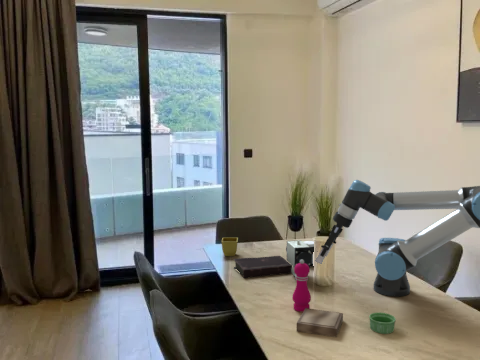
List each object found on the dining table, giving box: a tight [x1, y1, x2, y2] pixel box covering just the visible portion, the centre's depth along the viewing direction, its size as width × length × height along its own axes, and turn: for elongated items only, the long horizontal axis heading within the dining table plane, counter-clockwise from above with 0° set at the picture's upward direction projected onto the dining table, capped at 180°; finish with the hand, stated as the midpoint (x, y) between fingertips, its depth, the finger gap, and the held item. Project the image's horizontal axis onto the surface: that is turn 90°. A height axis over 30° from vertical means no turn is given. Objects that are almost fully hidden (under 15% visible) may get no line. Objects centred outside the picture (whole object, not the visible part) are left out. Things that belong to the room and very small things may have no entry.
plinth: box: [296, 308, 344, 338], centre depth 168 cm, size 14×14×3 cm
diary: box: [233, 255, 293, 279], centre depth 232 cm, size 19×25×5 cm
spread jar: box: [303, 240, 315, 268], centre depth 240 cm, size 12×11×12 cm
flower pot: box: [221, 237, 239, 257], centre depth 258 cm, size 9×9×9 cm
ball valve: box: [285, 239, 312, 278], centre depth 220 cm, size 18×8×18 cm, turn 11°
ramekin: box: [368, 311, 397, 335], centre depth 165 cm, size 9×9×4 cm
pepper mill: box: [291, 259, 312, 313], centre depth 183 cm, size 7×7×20 cm
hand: (321, 258), depth 197 cm, fingers open, 13 cm apart
